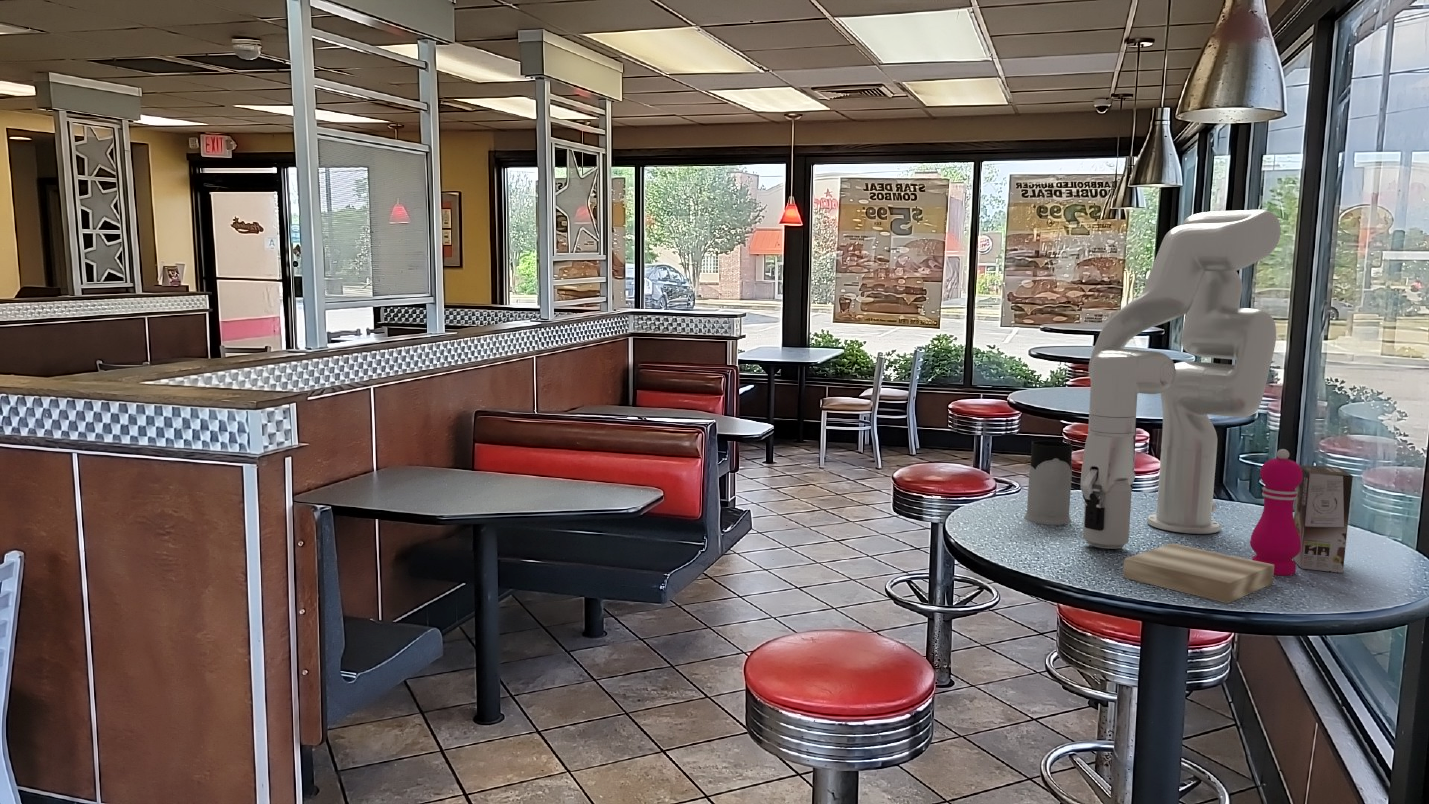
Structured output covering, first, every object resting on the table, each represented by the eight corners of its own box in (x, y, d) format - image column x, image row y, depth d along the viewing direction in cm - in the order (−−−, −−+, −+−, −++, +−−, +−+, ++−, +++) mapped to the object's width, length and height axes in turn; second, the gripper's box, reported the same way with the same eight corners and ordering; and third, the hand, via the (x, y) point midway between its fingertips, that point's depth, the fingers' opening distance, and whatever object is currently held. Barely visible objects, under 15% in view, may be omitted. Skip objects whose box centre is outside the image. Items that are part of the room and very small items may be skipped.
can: (1132, 551, 171) (1136, 482, 170) (1086, 548, 173) (1089, 480, 171) (1123, 539, 179) (1127, 473, 177) (1079, 537, 180) (1082, 471, 179)
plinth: (1170, 560, 168) (1172, 543, 168) (1272, 583, 156) (1274, 564, 156) (1122, 577, 158) (1124, 558, 158) (1228, 603, 146) (1229, 583, 146)
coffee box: (1345, 573, 163) (1354, 475, 161) (1299, 569, 165) (1308, 472, 163) (1332, 559, 171) (1341, 466, 169) (1289, 555, 173) (1297, 463, 171)
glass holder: (1029, 523, 193) (1033, 446, 191) (1014, 507, 207) (1018, 435, 205) (1076, 525, 192) (1081, 448, 190) (1058, 509, 206) (1062, 436, 204)
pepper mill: (1239, 563, 168) (1249, 444, 165) (1283, 564, 167) (1294, 446, 165) (1261, 576, 160) (1272, 452, 158) (1307, 577, 160) (1319, 453, 158)
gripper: (1116, 418, 181) (1111, 513, 184) (1064, 427, 170) (1059, 529, 173) (1157, 422, 176) (1151, 521, 178) (1106, 433, 165) (1100, 538, 167)
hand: (1106, 524), depth 175 cm, fingers closed on can, 7 cm apart
